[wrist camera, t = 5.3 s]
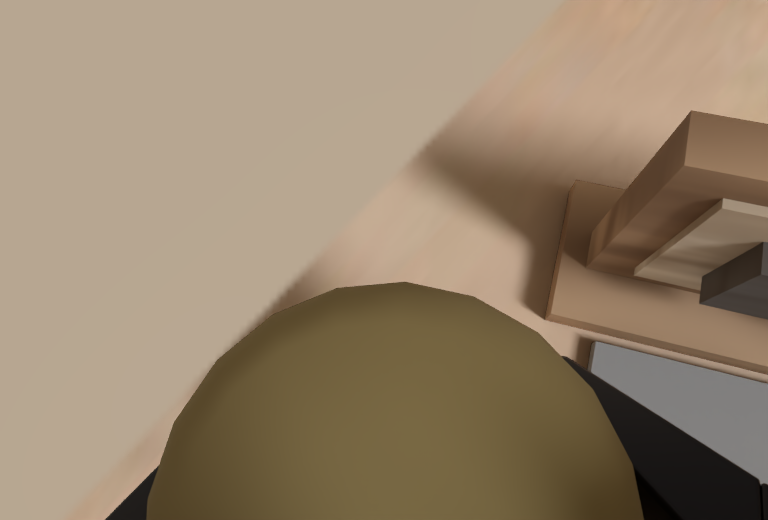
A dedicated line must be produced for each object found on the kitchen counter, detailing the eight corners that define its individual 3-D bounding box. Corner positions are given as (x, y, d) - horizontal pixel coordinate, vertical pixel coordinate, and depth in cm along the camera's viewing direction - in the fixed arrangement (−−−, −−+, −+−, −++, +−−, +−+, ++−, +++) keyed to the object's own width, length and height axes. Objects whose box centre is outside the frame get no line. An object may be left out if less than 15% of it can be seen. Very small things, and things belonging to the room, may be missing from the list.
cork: (293, 578, 14) (-89, 975, 4) (320, 349, 16) (116, 188, 6) (526, 606, 14) (849, 1179, 3) (527, 365, 15) (731, 215, 5)
